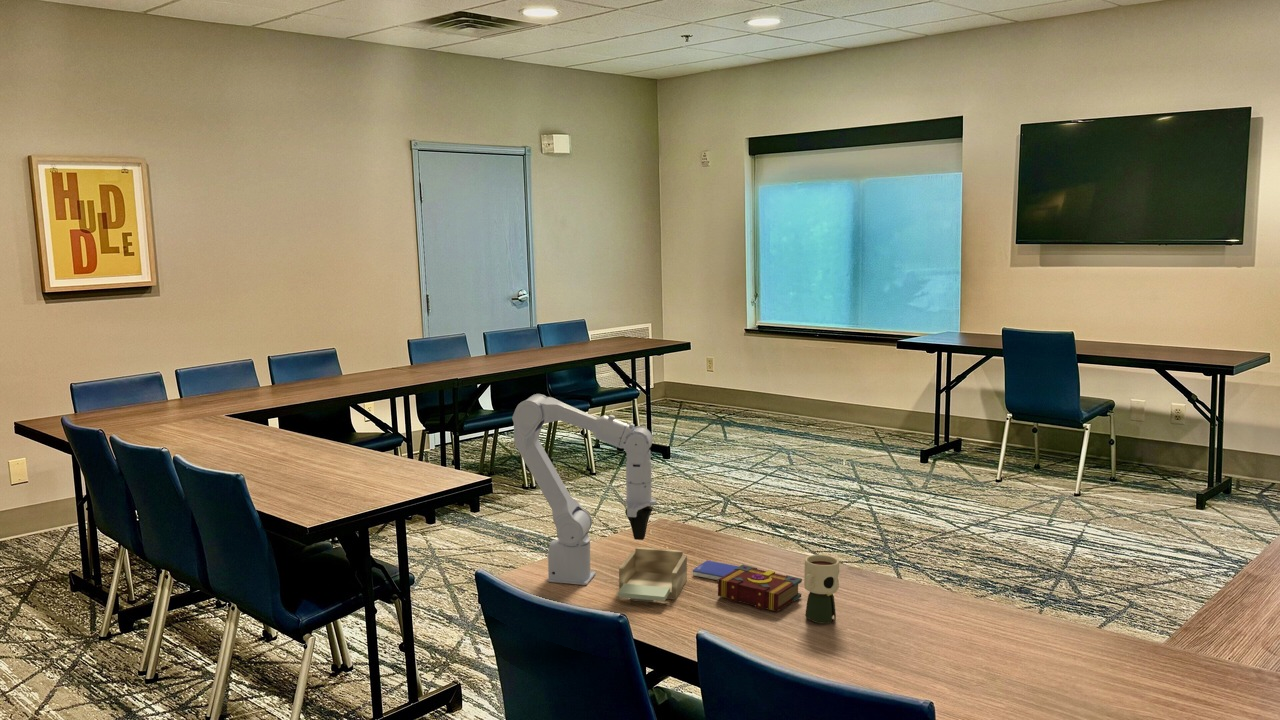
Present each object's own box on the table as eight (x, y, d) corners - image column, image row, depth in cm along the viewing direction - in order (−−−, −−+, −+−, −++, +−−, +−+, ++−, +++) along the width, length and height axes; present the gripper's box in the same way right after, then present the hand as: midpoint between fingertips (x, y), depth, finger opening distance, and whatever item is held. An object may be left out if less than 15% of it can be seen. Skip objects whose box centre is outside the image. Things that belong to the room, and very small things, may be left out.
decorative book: (777, 614, 208) (777, 591, 207) (712, 597, 217) (712, 575, 216) (801, 598, 217) (802, 576, 216) (738, 581, 226) (738, 561, 225)
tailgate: (624, 590, 218) (617, 599, 213) (624, 583, 218) (617, 592, 213) (669, 594, 216) (664, 604, 210) (669, 587, 215) (664, 596, 210)
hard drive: (692, 569, 230) (741, 579, 224) (707, 559, 237) (755, 568, 231) (692, 576, 230) (740, 585, 224) (707, 565, 237) (755, 574, 231)
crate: (619, 594, 219) (619, 563, 218) (632, 575, 231) (632, 546, 230) (676, 599, 216) (676, 568, 215) (686, 580, 228) (686, 551, 227)
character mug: (820, 632, 199) (822, 570, 197) (791, 623, 203) (792, 562, 202) (849, 616, 206) (851, 557, 205) (820, 608, 211) (821, 549, 209)
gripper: (648, 490, 215) (649, 550, 217) (662, 473, 229) (663, 530, 231) (617, 488, 217) (618, 548, 219) (633, 472, 231) (634, 528, 233)
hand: (639, 538), depth 225 cm, fingers closed
